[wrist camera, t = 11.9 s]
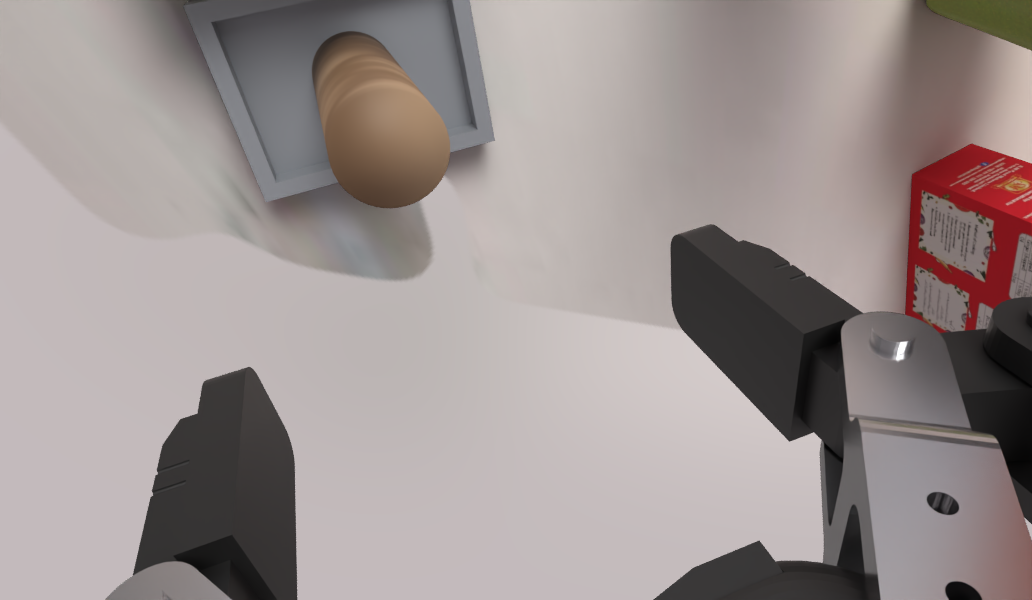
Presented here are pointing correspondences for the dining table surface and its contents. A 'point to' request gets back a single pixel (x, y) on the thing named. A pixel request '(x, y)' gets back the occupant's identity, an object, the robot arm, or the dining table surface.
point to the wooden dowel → (377, 123)
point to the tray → (289, 85)
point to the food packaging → (969, 238)
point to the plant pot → (991, 17)
